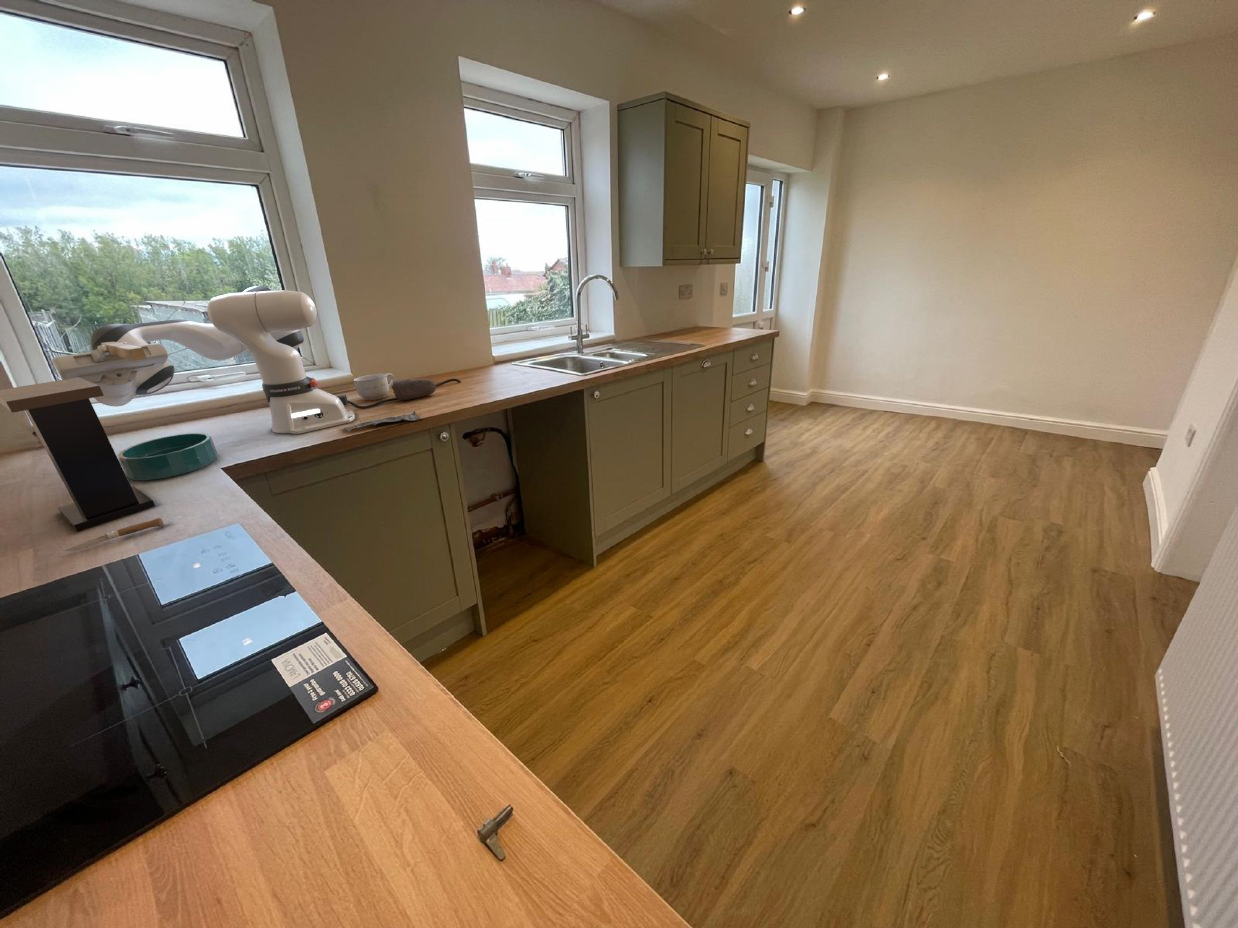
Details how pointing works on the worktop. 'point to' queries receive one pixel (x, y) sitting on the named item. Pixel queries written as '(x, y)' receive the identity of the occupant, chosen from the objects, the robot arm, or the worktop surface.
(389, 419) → the driftwood
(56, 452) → the black slanted stand
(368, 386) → the teacup
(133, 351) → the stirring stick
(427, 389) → the grey rounded oblong body
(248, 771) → the worktop surface
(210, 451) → the bowl
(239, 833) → the worktop surface
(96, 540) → the folding knife
